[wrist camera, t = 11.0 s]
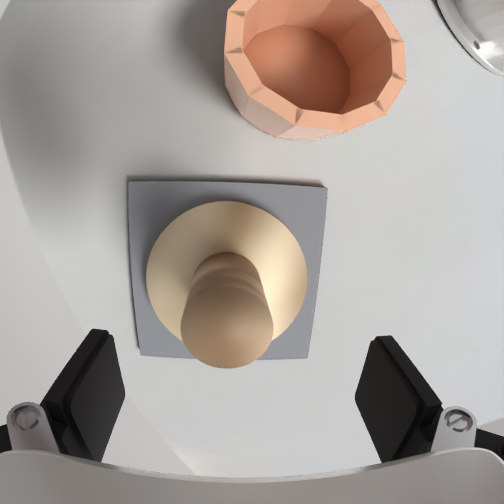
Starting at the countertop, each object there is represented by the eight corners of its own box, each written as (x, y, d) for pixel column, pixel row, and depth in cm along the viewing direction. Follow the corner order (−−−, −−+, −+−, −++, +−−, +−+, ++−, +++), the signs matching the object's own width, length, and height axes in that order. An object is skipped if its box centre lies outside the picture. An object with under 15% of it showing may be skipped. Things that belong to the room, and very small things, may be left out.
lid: (310, 204, 20) (350, 223, 13) (295, 345, 23) (318, 406, 16) (147, 199, 19) (108, 216, 13) (155, 343, 22) (133, 405, 15)
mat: (324, 187, 21) (327, 187, 20) (305, 354, 24) (307, 358, 23) (131, 181, 19) (128, 181, 19) (142, 351, 23) (140, 355, 22)
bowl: (355, 33, 18) (398, -5, 11) (354, 147, 20) (405, 142, 13) (230, 16, 17) (232, -37, 10) (222, 136, 19) (219, 121, 13)
